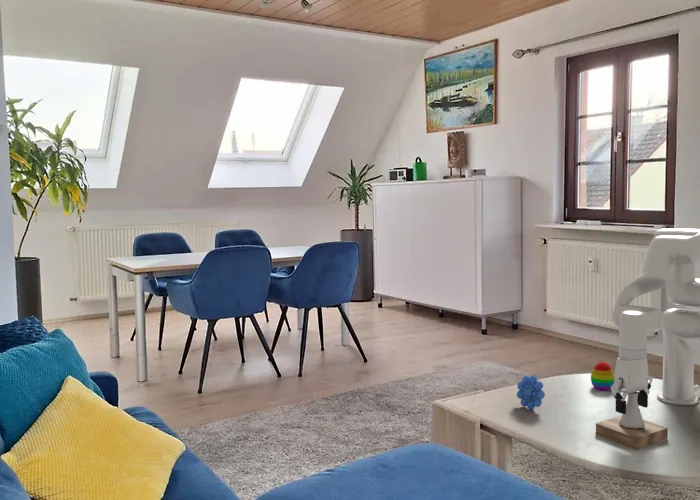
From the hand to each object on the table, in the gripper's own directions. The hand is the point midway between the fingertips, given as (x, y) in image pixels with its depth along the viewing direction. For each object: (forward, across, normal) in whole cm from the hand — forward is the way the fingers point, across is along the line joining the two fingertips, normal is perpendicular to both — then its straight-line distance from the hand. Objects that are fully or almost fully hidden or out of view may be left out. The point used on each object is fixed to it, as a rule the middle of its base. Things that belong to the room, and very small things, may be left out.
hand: (631, 409), depth 193 cm
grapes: (+8, +7, -33) cm, 35 cm away
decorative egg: (+9, -29, -34) cm, 46 cm away
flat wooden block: (+9, 0, 0) cm, 9 cm away
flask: (+5, 0, 0) cm, 5 cm away
